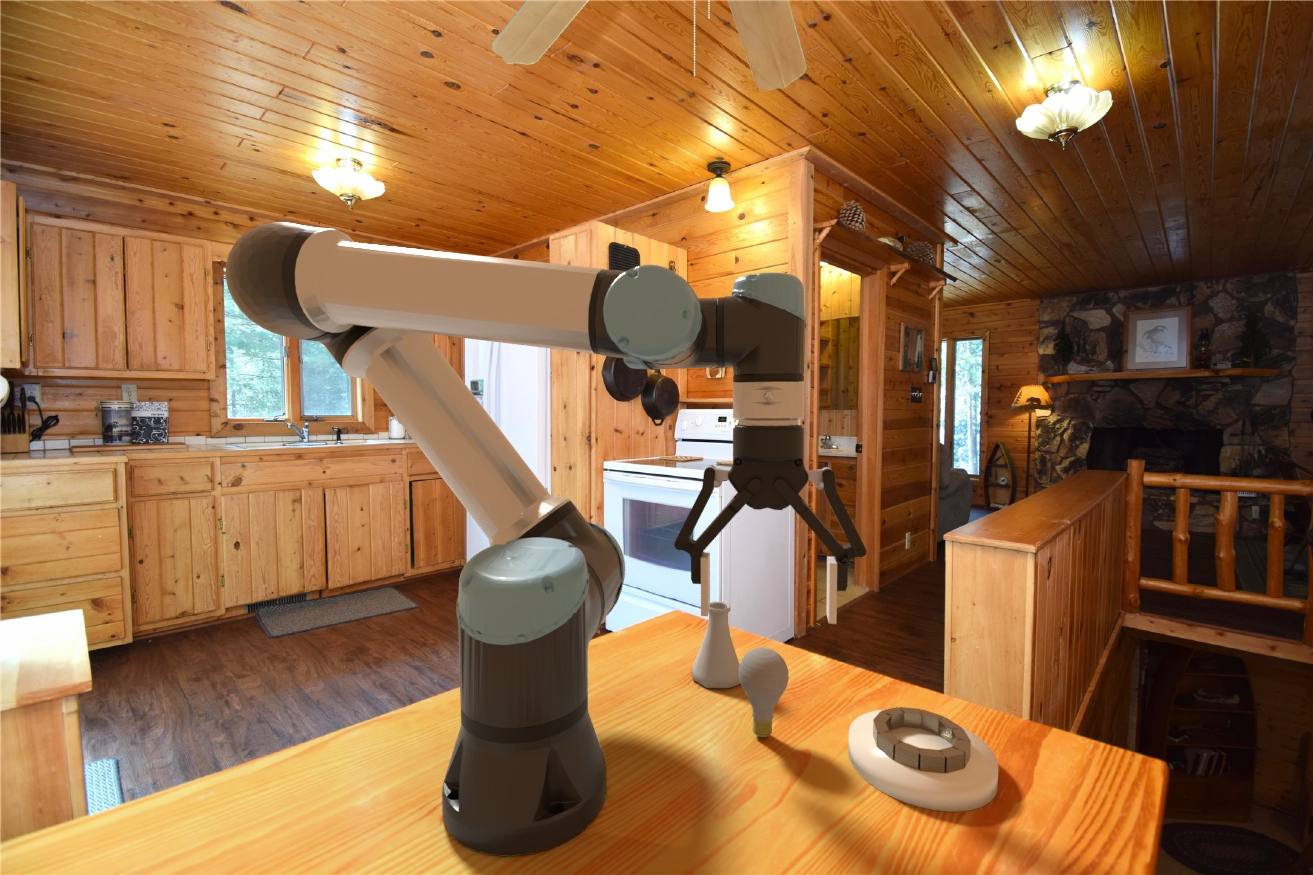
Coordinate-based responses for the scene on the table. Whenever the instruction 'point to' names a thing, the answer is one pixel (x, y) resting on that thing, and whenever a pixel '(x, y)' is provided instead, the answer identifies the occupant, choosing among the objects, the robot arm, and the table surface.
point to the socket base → (918, 786)
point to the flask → (717, 652)
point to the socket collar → (921, 757)
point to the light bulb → (763, 685)
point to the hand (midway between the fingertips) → (767, 615)
